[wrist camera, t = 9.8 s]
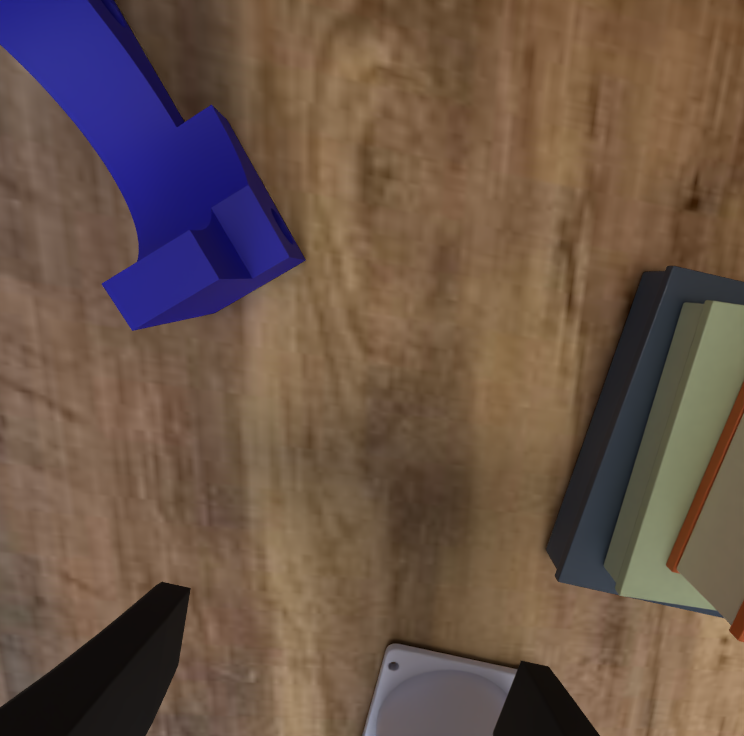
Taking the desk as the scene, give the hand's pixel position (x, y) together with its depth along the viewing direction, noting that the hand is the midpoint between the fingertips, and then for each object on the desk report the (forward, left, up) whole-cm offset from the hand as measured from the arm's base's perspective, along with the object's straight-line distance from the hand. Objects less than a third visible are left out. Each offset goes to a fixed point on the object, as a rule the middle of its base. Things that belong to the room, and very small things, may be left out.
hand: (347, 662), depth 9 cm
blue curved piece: (+11, +10, -11) cm, 18 cm away
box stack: (+4, -14, -10) cm, 18 cm away
